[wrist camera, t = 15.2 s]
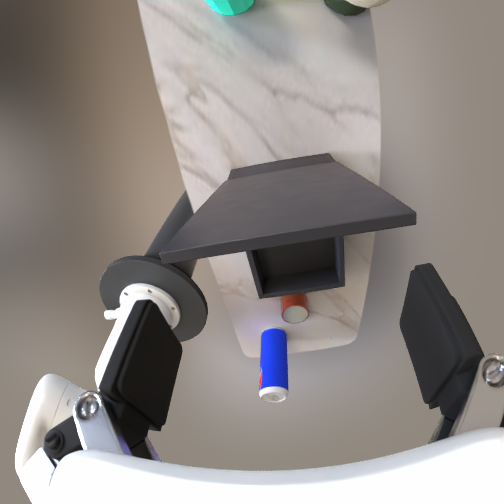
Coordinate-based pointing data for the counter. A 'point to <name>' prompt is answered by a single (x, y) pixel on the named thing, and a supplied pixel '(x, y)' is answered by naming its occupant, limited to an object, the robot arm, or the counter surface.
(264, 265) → the open storage bin
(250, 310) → the counter surface
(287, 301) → the coffee capsule
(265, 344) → the beverage can
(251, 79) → the counter surface
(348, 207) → the lid
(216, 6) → the candle
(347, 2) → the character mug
